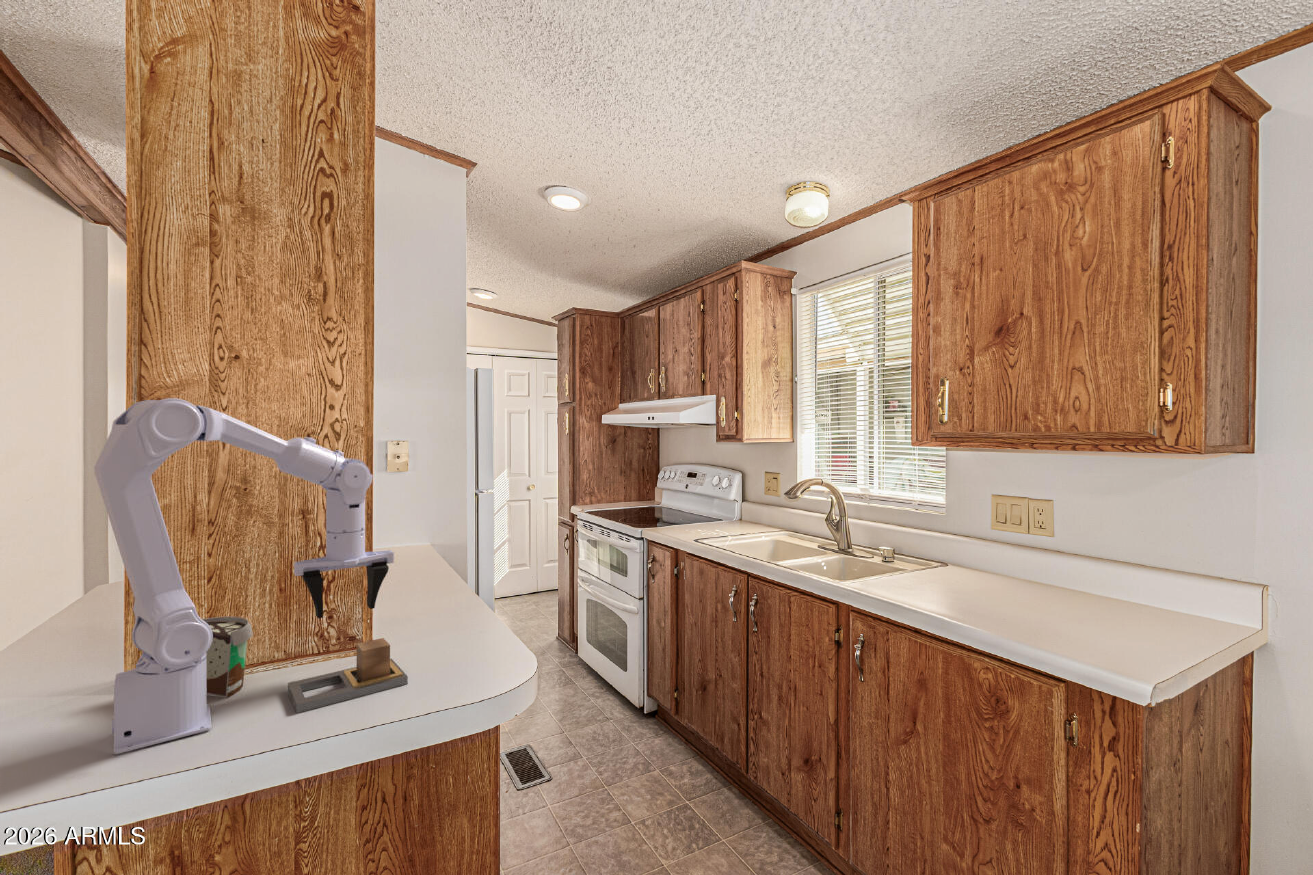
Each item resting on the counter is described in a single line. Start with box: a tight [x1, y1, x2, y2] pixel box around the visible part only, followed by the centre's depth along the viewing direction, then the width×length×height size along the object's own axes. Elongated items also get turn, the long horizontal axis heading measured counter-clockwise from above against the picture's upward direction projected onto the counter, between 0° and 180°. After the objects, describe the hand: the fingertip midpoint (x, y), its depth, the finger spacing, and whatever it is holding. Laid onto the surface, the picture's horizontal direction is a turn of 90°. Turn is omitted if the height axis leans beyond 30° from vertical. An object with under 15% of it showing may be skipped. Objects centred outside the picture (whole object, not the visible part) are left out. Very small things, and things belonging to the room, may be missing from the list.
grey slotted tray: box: [287, 658, 409, 714], centre depth 89 cm, size 15×9×1 cm, turn 130°
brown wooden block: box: [356, 637, 391, 683], centre depth 91 cm, size 4×4×6 cm
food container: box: [201, 616, 254, 699], centre depth 90 cm, size 12×6×10 cm, turn 74°
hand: (345, 611), depth 95 cm, fingers open, 7 cm apart
